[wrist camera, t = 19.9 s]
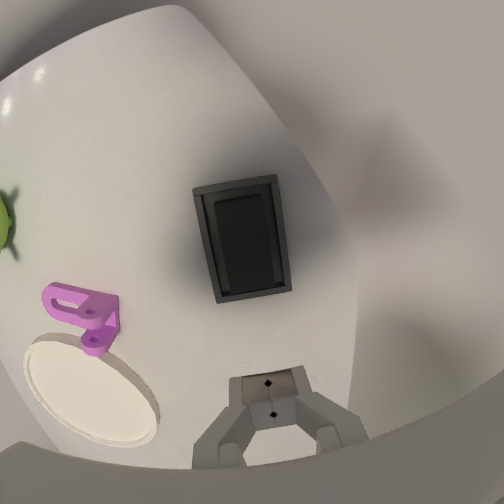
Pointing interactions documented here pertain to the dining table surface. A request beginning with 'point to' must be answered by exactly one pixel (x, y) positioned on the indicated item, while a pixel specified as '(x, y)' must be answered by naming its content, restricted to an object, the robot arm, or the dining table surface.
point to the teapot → (4, 223)
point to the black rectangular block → (245, 243)
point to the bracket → (86, 314)
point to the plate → (90, 392)
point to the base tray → (211, 239)
